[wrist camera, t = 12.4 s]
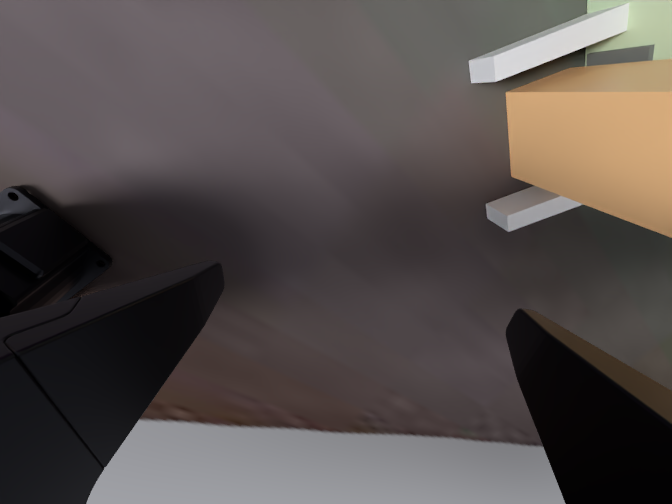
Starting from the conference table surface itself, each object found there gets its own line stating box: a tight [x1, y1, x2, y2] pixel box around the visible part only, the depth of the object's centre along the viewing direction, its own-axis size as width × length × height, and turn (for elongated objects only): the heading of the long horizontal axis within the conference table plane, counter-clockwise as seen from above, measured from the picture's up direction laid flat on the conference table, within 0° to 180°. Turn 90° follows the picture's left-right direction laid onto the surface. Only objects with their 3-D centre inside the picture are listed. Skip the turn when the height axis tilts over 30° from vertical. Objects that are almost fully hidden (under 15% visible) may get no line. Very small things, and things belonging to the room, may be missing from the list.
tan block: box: [506, 59, 672, 238], centre depth 15 cm, size 4×6×12 cm
